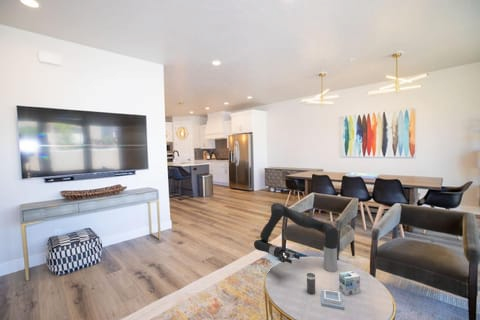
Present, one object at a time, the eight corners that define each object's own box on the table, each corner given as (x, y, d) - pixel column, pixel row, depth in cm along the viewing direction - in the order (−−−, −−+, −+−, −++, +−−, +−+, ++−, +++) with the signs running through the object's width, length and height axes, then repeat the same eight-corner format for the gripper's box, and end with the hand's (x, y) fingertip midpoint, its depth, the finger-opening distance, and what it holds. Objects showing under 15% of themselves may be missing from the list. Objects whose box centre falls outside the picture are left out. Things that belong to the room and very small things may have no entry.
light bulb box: (345, 295, 136) (345, 278, 135) (338, 288, 142) (338, 272, 142) (360, 292, 138) (360, 276, 137) (353, 286, 145) (353, 270, 144)
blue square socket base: (321, 292, 139) (321, 287, 139) (342, 296, 135) (341, 290, 135) (321, 305, 128) (321, 299, 128) (344, 310, 124) (344, 304, 124)
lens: (307, 288, 144) (306, 272, 143) (315, 290, 142) (315, 273, 141) (306, 293, 139) (306, 276, 138) (315, 295, 137) (315, 278, 136)
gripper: (270, 249, 155) (289, 257, 143) (282, 243, 165) (301, 251, 152) (270, 259, 156) (289, 269, 143) (283, 253, 165) (301, 261, 153)
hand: (295, 259), depth 148 cm, fingers open, 8 cm apart
